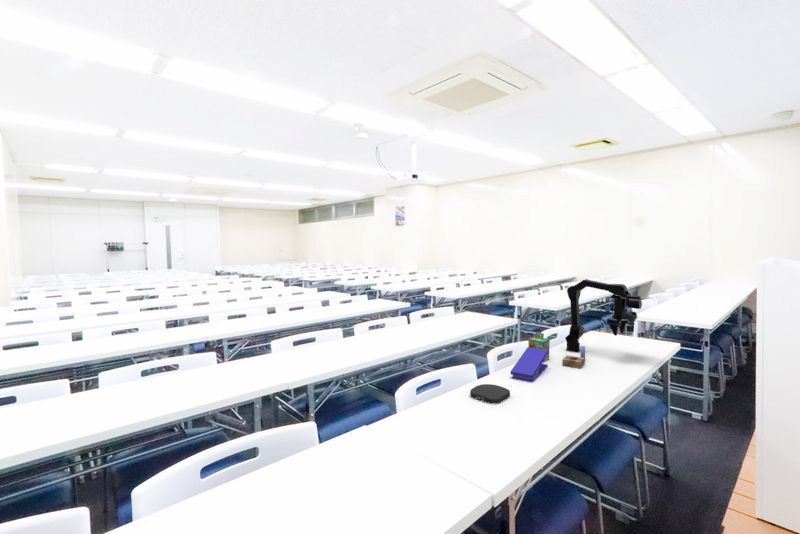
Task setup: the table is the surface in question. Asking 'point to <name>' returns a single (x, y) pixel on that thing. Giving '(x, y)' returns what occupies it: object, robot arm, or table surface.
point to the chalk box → (540, 343)
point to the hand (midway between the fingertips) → (618, 334)
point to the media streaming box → (490, 393)
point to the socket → (573, 361)
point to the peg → (582, 351)
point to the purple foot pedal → (530, 364)
